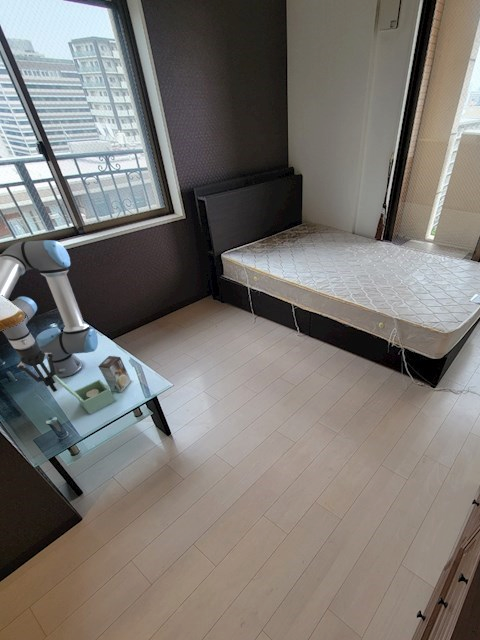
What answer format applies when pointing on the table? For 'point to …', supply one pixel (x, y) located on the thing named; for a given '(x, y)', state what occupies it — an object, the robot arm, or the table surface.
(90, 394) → the coffee pod
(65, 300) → the robot arm
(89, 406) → the pale green cubby
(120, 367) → the coffee box
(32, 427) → the table surface
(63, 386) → the lid
